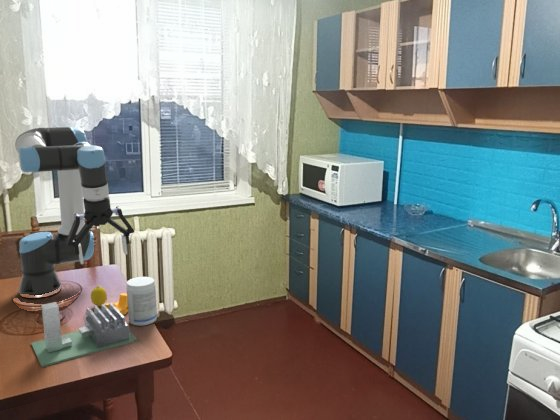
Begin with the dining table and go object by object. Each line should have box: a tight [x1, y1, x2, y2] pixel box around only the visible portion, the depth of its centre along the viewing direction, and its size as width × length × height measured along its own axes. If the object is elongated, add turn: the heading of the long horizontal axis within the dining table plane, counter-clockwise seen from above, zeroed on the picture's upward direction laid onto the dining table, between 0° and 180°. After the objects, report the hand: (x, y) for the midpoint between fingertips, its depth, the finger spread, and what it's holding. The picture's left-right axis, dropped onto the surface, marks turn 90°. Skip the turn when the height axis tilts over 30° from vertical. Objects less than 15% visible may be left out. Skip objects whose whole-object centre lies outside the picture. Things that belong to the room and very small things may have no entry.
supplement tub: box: [126, 276, 158, 326], centre depth 170 cm, size 10×10×15 cm
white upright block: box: [40, 301, 72, 353], centre depth 149 cm, size 4×7×14 cm, turn 126°
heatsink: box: [78, 301, 130, 348], centre depth 157 cm, size 14×13×8 cm
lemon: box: [90, 285, 108, 308], centre depth 181 cm, size 6×6×8 cm
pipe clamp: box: [104, 292, 128, 316], centre depth 173 cm, size 12×4×6 cm, turn 169°
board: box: [30, 330, 138, 368], centre depth 155 cm, size 16×28×1 cm, turn 126°
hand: (103, 257), depth 158 cm, fingers open, 13 cm apart
